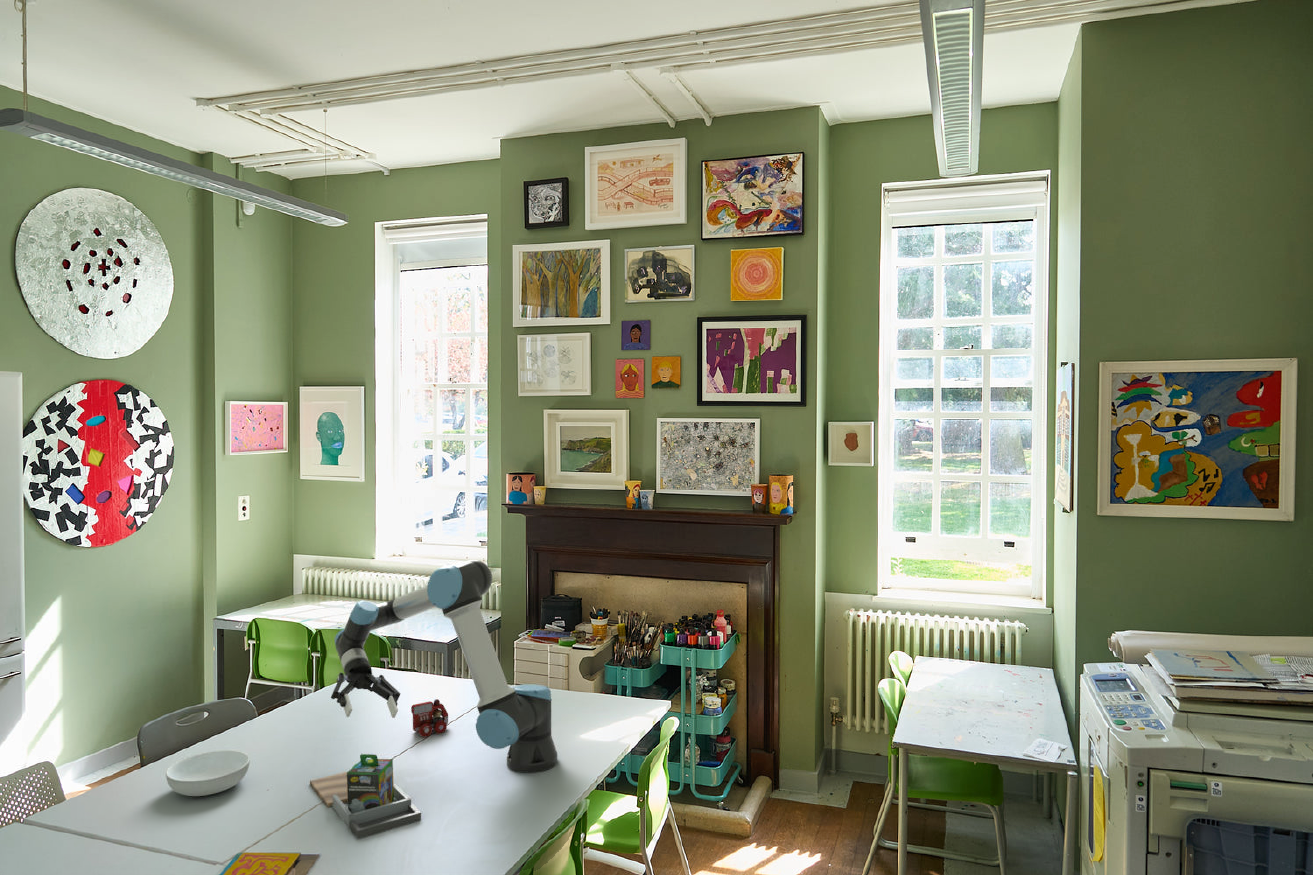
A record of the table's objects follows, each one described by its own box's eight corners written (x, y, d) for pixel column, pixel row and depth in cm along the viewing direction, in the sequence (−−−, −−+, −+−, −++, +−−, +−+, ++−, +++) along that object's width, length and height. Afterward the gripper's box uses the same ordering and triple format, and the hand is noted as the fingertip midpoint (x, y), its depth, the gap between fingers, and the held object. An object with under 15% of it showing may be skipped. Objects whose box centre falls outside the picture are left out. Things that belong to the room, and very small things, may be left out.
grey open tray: (332, 806, 222) (332, 795, 222) (391, 790, 231) (391, 779, 231) (357, 838, 204) (357, 826, 204) (421, 820, 214) (420, 808, 214)
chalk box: (394, 800, 225) (394, 746, 225) (380, 816, 216) (379, 760, 216) (362, 799, 226) (361, 745, 226) (346, 815, 217) (345, 758, 217)
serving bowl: (155, 809, 221) (155, 784, 221) (178, 778, 241) (178, 754, 241) (241, 800, 226) (241, 774, 226) (256, 769, 246) (256, 746, 246)
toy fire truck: (452, 731, 277) (451, 699, 277) (416, 739, 269) (415, 707, 269) (443, 725, 282) (443, 694, 282) (408, 733, 275) (408, 702, 275)
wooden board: (310, 784, 236) (309, 780, 236) (373, 768, 247) (373, 764, 247) (327, 807, 221) (327, 803, 221) (394, 789, 232) (394, 785, 232)
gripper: (390, 678, 263) (408, 724, 247) (311, 674, 247) (324, 723, 231) (399, 659, 261) (418, 704, 245) (319, 653, 246) (334, 701, 230)
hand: (372, 713), depth 238 cm, fingers open, 13 cm apart
